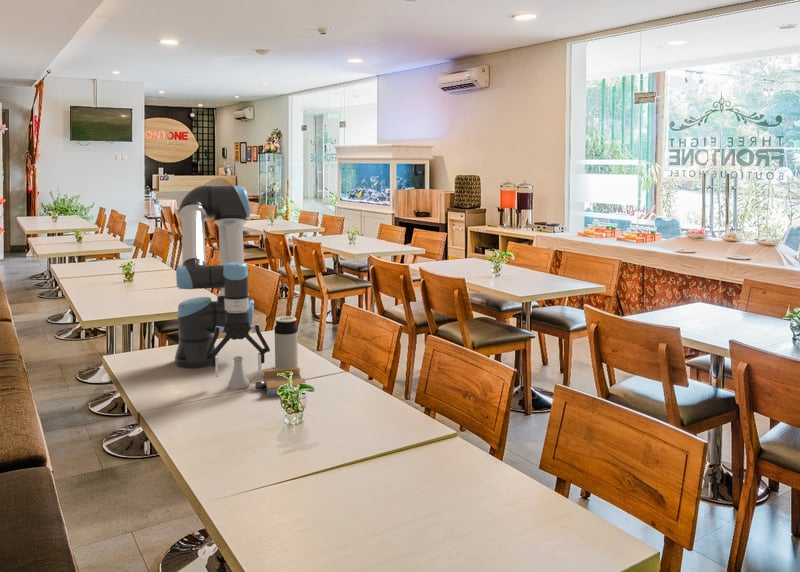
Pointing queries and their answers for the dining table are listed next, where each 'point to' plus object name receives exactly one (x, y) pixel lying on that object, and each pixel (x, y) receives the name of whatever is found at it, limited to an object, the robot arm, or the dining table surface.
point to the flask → (238, 375)
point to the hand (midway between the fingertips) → (238, 374)
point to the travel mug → (286, 343)
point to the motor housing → (278, 380)
